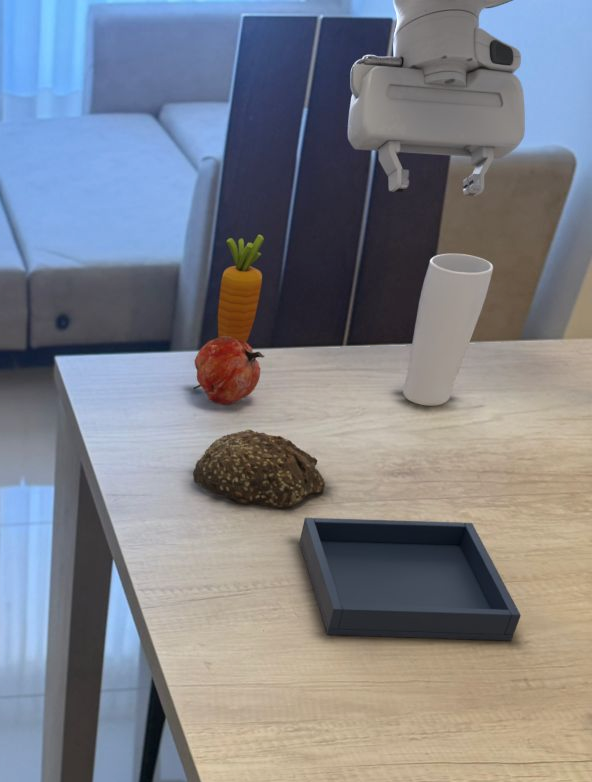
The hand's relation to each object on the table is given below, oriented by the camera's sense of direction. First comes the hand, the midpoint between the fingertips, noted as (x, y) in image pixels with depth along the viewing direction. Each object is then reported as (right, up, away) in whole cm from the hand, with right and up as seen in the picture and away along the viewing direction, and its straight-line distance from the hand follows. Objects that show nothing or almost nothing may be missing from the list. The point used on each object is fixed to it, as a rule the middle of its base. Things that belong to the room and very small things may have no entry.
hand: (436, 191), depth 129 cm
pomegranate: (-23, -22, +5) cm, 32 cm away
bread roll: (-22, -35, -10) cm, 43 cm away
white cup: (+1, -21, +6) cm, 22 cm away
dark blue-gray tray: (-13, -49, -25) cm, 57 cm away
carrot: (-21, -15, +12) cm, 28 cm away
